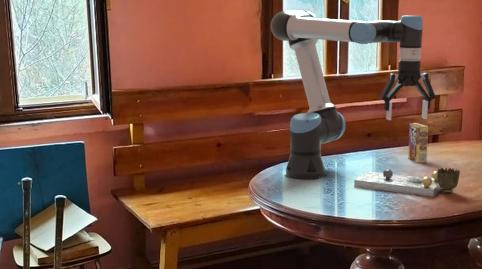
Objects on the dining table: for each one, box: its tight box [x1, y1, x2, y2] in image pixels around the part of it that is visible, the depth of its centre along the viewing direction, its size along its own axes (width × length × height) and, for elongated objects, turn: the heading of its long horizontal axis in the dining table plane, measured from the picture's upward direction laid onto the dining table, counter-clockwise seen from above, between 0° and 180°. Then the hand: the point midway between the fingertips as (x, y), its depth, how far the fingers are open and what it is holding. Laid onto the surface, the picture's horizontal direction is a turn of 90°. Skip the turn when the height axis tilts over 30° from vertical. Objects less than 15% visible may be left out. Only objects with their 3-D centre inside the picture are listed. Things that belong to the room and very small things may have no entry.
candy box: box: [407, 122, 429, 164], centre depth 260 cm, size 9×4×15 cm, turn 13°
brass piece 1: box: [422, 176, 432, 187], centre depth 212 cm, size 3×3×3 cm
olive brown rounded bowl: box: [436, 167, 461, 195], centre depth 213 cm, size 8×7×8 cm
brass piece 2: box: [430, 170, 438, 181], centre depth 220 cm, size 3×3×3 cm
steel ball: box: [382, 169, 394, 179], centre depth 224 cm, size 3×3×3 cm
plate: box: [353, 171, 443, 198], centre depth 222 cm, size 28×14×2 cm, turn 59°
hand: (406, 119), depth 225 cm, fingers open, 13 cm apart
